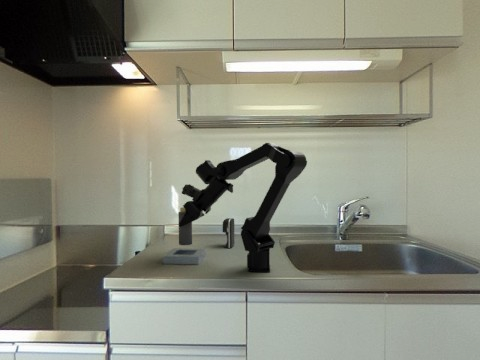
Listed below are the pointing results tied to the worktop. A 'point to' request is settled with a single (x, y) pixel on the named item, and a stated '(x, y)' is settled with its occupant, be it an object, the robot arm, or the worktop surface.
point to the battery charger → (229, 232)
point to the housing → (184, 256)
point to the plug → (185, 230)
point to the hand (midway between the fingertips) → (181, 224)
